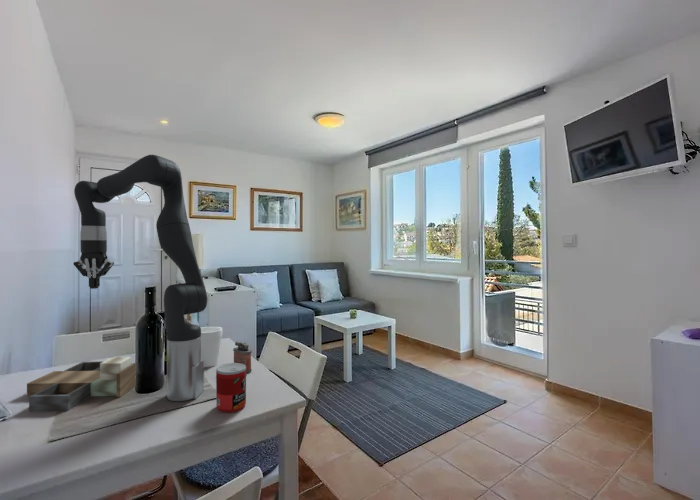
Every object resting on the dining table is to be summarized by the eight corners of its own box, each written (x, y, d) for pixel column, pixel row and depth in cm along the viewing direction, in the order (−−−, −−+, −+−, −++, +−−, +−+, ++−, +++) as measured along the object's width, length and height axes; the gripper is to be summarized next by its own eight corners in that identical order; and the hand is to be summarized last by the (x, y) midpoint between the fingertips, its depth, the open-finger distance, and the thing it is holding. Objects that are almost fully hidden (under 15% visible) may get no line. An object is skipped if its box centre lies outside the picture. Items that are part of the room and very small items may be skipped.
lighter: (253, 371, 126) (253, 343, 126) (246, 374, 123) (246, 345, 123) (238, 366, 130) (238, 339, 130) (230, 369, 127) (230, 341, 127)
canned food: (237, 414, 94) (237, 373, 94) (210, 411, 96) (210, 371, 96) (251, 402, 102) (251, 363, 102) (225, 399, 103) (225, 361, 103)
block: (132, 372, 113) (131, 356, 113) (120, 379, 107) (120, 363, 107) (112, 372, 113) (112, 357, 113) (100, 380, 107) (100, 363, 107)
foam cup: (216, 368, 128) (216, 332, 128) (190, 368, 128) (190, 332, 128) (226, 360, 138) (226, 326, 137) (202, 359, 138) (202, 326, 137)
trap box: (154, 372, 124) (154, 352, 124) (102, 410, 96) (102, 384, 96) (74, 373, 123) (73, 353, 123) (-2, 411, 95) (-3, 385, 95)
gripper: (119, 239, 129) (119, 287, 130) (81, 239, 128) (82, 287, 129) (106, 239, 122) (106, 289, 122) (66, 238, 121) (66, 289, 121)
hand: (94, 288), depth 125 cm, fingers closed
